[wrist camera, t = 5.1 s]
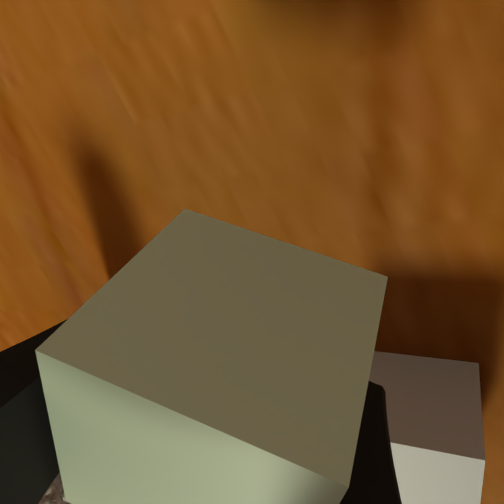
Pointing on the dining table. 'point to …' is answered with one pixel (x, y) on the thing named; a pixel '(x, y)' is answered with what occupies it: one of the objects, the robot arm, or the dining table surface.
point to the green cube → (214, 373)
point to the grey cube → (433, 427)
